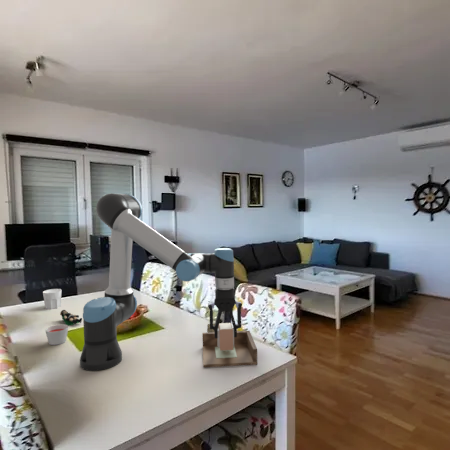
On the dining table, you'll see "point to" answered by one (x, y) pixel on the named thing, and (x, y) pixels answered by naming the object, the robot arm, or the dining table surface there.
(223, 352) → the sage pad
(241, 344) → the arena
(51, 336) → the candle
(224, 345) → the terracotta block
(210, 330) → the stone block
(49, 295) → the cup
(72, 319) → the figurine
